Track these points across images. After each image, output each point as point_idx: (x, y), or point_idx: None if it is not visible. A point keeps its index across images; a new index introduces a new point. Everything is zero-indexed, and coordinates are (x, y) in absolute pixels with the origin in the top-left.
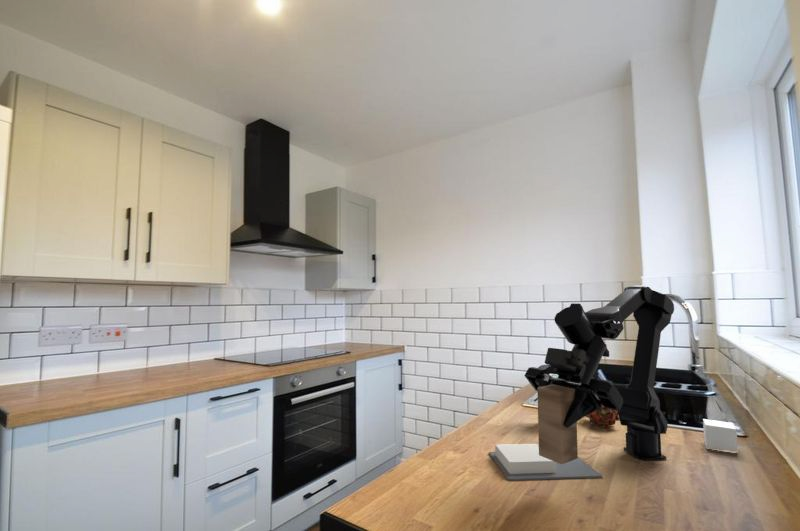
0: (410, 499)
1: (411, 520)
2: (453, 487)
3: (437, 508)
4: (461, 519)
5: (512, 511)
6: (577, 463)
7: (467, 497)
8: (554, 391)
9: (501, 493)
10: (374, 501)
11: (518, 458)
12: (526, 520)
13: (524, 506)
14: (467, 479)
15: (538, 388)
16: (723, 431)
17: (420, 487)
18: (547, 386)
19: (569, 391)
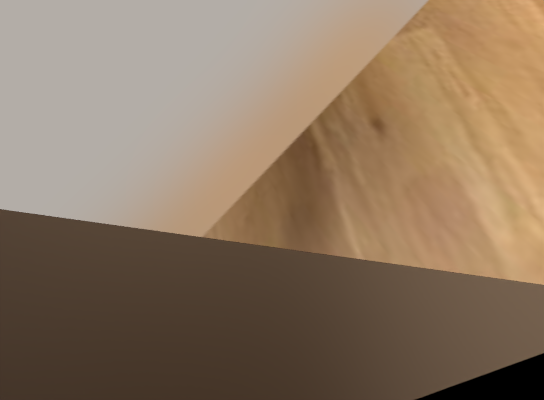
0: (497, 55)
1: (424, 21)
2: (496, 156)
3: (432, 74)
4: (370, 83)
5: (324, 176)
6: None
7: (432, 147)
8: (67, 225)
9: (397, 224)
10: (529, 4)
11: None
12: (284, 170)
13: (319, 214)
14: (519, 218)
15: (496, 287)
16: None
17: (541, 98)
18: None
19: None
